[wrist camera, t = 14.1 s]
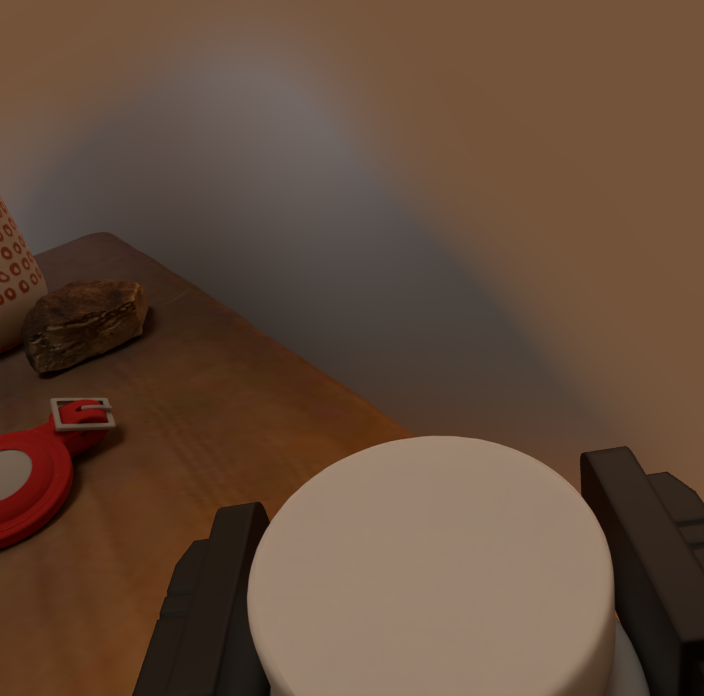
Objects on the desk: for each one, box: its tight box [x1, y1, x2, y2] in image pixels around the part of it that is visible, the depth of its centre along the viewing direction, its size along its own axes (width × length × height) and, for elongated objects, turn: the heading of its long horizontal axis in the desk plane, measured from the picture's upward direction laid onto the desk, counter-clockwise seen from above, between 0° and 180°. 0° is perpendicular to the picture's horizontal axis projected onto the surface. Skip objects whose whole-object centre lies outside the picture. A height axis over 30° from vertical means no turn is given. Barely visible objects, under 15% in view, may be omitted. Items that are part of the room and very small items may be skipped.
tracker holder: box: [0, 398, 115, 548], centre depth 39 cm, size 12×4×10 cm
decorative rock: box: [20, 280, 148, 373], centre depth 58 cm, size 12×6×11 cm
